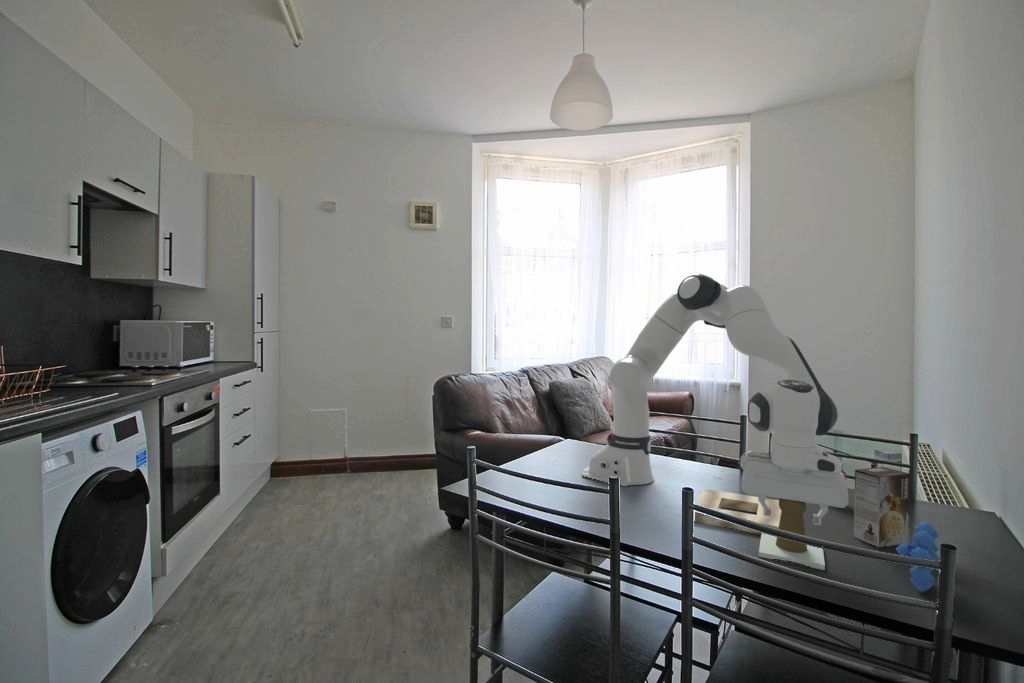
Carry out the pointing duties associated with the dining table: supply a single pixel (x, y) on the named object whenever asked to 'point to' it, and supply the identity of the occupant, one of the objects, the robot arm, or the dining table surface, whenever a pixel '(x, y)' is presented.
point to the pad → (791, 553)
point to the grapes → (921, 554)
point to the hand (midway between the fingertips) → (791, 519)
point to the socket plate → (740, 503)
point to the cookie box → (882, 506)
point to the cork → (791, 524)
